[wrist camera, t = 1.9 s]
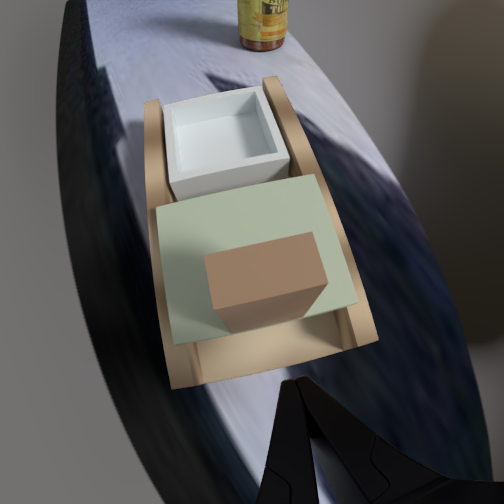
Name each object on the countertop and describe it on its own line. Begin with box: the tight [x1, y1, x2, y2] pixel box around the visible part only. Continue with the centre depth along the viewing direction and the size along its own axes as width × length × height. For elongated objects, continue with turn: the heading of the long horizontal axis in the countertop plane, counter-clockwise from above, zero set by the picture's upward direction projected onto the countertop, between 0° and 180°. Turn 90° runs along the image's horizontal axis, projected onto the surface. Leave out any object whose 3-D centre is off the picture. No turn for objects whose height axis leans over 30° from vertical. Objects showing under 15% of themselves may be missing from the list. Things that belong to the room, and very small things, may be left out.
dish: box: [164, 86, 290, 202], centre depth 25 cm, size 9×9×3 cm
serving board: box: [144, 76, 379, 389], centre depth 23 cm, size 24×14×4 cm, turn 13°
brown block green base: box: [156, 174, 359, 346], centre depth 16 cm, size 9×11×8 cm
